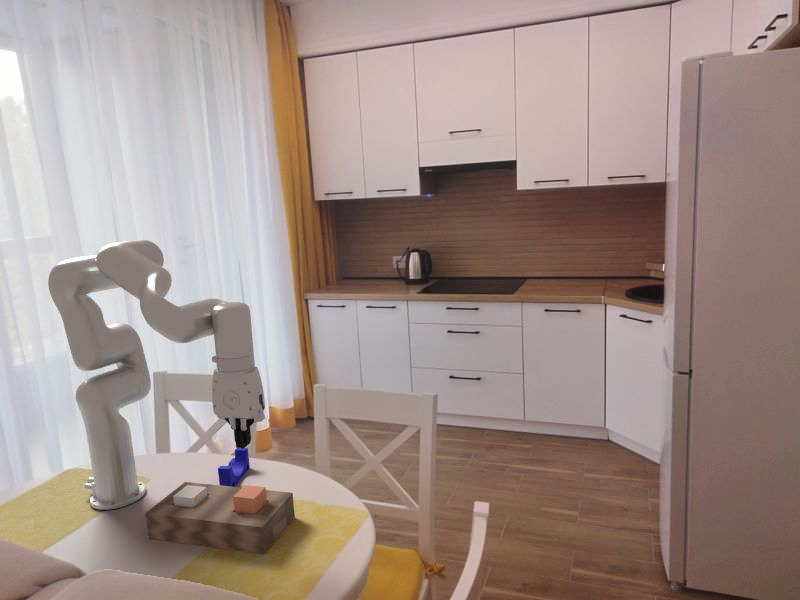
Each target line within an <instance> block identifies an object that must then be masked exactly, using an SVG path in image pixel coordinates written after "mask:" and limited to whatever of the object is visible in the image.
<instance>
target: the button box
mask: <svg viewBox="0 0 800 600" xmlns="http://www.w3.org/2000/svg"><path fill="white" fill-rule="evenodd" d="M187 485H191V486H201V487H206V489H207V497H206V498H205V499H204V500H203V501H201V502H200V503H199V504H198V505H197V506H196V507H195V508H194V507H185V506H176V505H174V497H173V496H174V495H175V494H177V493H178V492H179V491H180V490H182V489H183V488H184V487H185V486H187ZM242 488H243V487H241V486H240V487H239V486H235V487H231V486H221V485H220V484H210V483H209V484H208V483H199V482H190V481H188V482H187V481H184V482H183V483H182V484H180V485H179V486H178V487H177V488H175V489H174V490H173V491H172V492H170V493H169V494H168V495H166V496H165V497H164V498H163V499H161V500H160V501H158V502H157V503H155V505H154V506H152V507H151V508H150V509H148V510H147V511H146V512H145V513H144V514H145V521H146V527H147V528H146V529H147V535H148V540H149V539H150V540H158V541H164V542H172V543H180V544H187V545H193V546H194V545H195V546H201V547H202V546H203V547H210V548H216V549H224V550H232V551H238V552H239V551H240V552H245V553H247V552H248V553H255V554H260V555H262V554H263V555H266V553H267V552H268V551H269V550H270V548H271V547H272V546H273V545H274V543H275V542H276V541H277V540H278V539H279V537H280V536H282V533H283V532H284V531H285V530H286V528H288V526H289V525H290V524H291V523H292V521H293V520H294V519H295V518H296V517H295V506H294V505H295V504H294V503H295V502H294V494H293V492H289V491H288V492H287V491H279V490H270V489H269V490H267V489H266V497H267V504H266V505H265V506H264V507H263V508H262V509H261V510H260V511H259V512H258V513H257V514H256V515H255V514H246V513H237V512H235V510H234V501H233V496H234V495H235V494H236V493H237V492H238V491H239V490H241V489H242ZM294 517H295V518H294ZM293 518H294V519H293Z"/></svg>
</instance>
